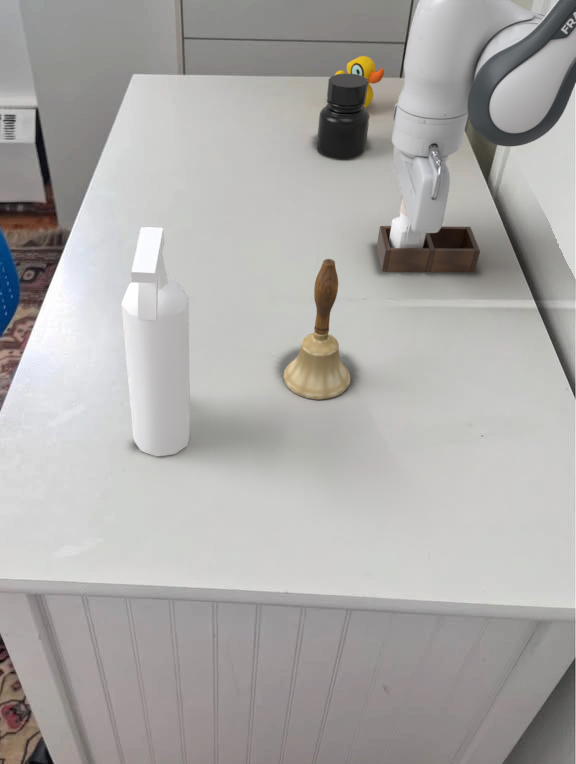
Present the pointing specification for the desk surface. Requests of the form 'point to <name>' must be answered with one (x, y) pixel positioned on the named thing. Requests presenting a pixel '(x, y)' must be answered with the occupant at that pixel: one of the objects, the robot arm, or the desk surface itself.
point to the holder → (431, 252)
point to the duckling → (365, 74)
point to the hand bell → (320, 347)
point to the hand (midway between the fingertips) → (408, 230)
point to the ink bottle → (344, 118)
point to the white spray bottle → (157, 350)
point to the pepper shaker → (402, 231)
